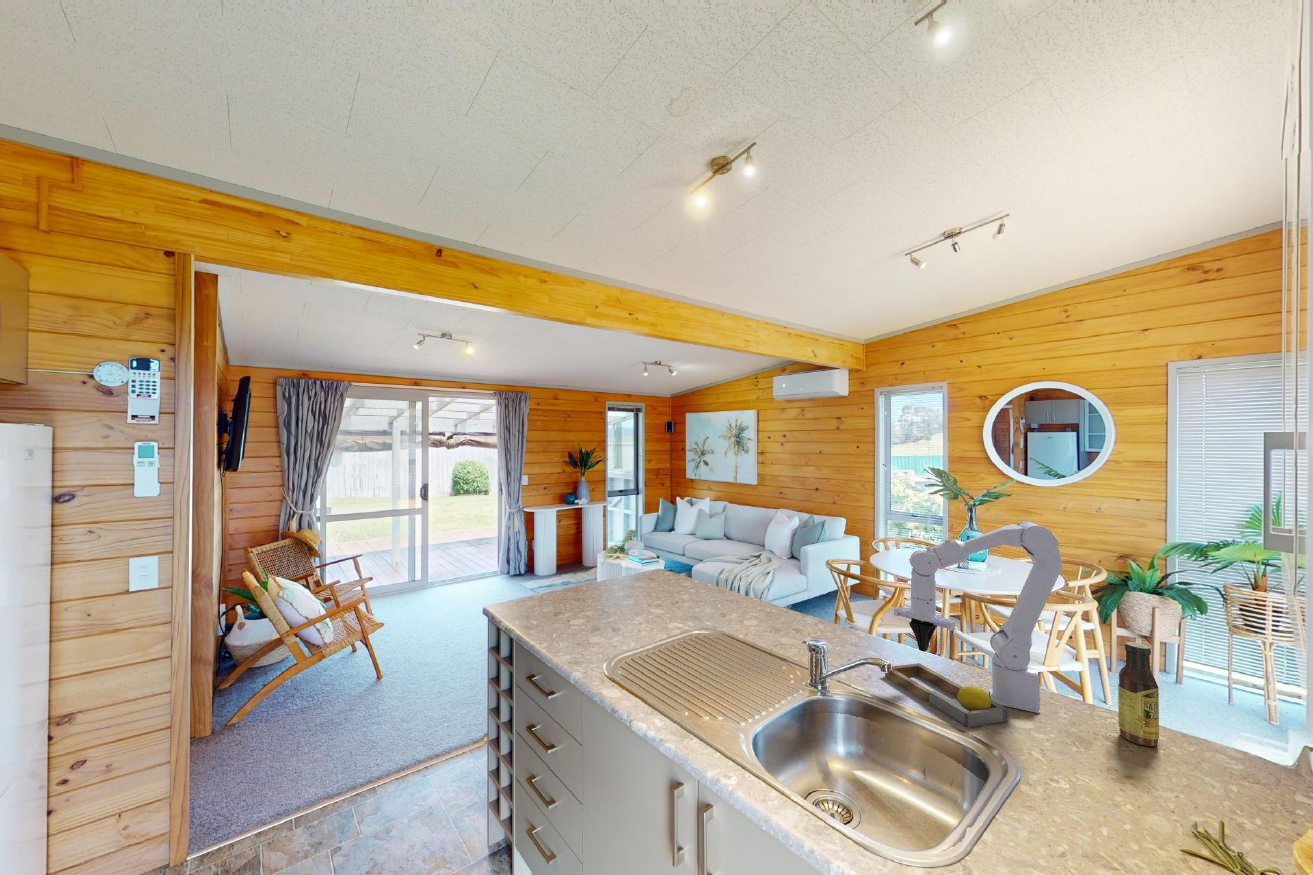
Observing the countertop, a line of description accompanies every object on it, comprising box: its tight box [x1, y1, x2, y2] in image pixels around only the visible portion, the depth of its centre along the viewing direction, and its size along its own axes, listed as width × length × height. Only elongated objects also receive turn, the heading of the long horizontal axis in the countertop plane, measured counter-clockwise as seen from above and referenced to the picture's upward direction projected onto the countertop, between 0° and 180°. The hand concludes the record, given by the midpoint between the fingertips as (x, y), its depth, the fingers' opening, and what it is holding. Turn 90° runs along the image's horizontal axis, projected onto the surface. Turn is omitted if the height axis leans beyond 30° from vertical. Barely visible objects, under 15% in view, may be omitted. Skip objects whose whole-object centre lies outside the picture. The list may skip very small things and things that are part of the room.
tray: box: [929, 686, 1009, 729], centre depth 118 cm, size 11×11×3 cm
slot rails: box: [884, 663, 963, 705], centre depth 131 cm, size 16×11×2 cm
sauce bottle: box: [1117, 641, 1160, 747], centre depth 107 cm, size 6×6×20 cm
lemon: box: [956, 685, 991, 711], centre depth 117 cm, size 6×6×8 cm
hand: (923, 650), depth 131 cm, fingers closed
